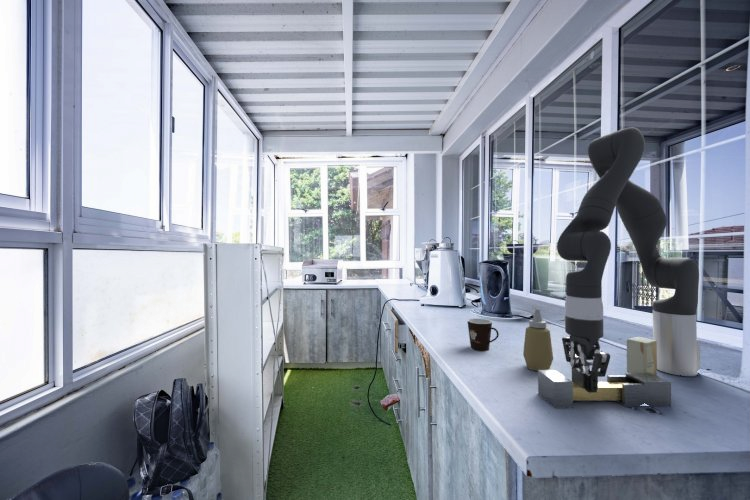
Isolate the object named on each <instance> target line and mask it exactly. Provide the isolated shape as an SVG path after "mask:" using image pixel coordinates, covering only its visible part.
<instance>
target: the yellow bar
mask: <svg viewBox="0 0 750 500" xmlns="http://www.w3.org/2000/svg"><path fill="white" fill-rule="evenodd" d="M591 369H592V368H590V371H591ZM585 375H586V374H585V368H584V366H583V367H571V381H572V382H573V401H616V400H622V383H635V382H607V381H599V377H598V378H597V388H598V389H597V392H595V393H589V392H587V391H586V390H585Z"/></svg>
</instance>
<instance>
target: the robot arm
mask: <svg viewBox="0 0 750 500" xmlns="http://www.w3.org/2000/svg"><path fill="white" fill-rule="evenodd" d="M645 147H646V141H645V137H644V135H643V133H642V132H641V130H640V129H639V128H638V127H632V126H630V127H626V128H622V129H619V130H616V131H613V132H610V133H609V134H608V133H607V134H605V135H602V136H599V137H596V138H594V139H593V140H591V141H590V143H589V144H588V147H587V155H588V159H589V161H590V164H591V166H592V168H593V169H594V170H595V173H596V174H597V176H598V178H599V179H598V180H596V182H595V183H594V184H593V185H591V186H590V187H589V189H588V190H587V192H586V193H585V194H584V196H583V198H582V200H581V202H580V204H579V208H578V210H577V213H576V215H575V216H574V218H573V219H571V221H570V223H568V224H567V226H566V227H565V228H564V229H563V231H562V233H560V236H559V238H558V240H557V244H556V250H557V253H558V255H559V257H560V258H562V259H563V260H566V261H571V262H575V261H576V262H579V261H580V262H583V261H584V262H586V263H585V266H584V268H583V269H580V270H572V271H570V272H568V273H567V274H566V276H565V301H564V321H565V322H564V324H565V325H564V327H565V328H564V329H565V330H564V331H565V333H566V334H567V335H569V336H568V337H567V336H566V337H562V338H561V341H562V346H563V351H564V356H565V361H566V362H567V363H569V365H570V367H571V368H572V367H584V368H585V374H586V375H585V390H586V391H587V392H589V393H595V392H597V389H598V388H597V378H598V379H599V377H601V378H603V377H604V378H605V377H606V375H607V372H608V371H607V370H608V366H609V364H610V363H609V362H610V360H611V355H610V353H609V352H604V351H603V350H602V349H601V345H600V342H599V340H600V339H602V338H603V337H604V304H603V296H602V295H603V294H602V292H603V290H602V287H603V286H602V281H603V275H604V272H605V268H606V265H607V262H608V260H609V257H610V253H611V249H612V242H611V240H610V238H609V236H608V234H606V232H604V231H603V230H605V229H606V228H607V227H608V226H609V225H610V223H611V219H612V217H613V214H614V211H615V208H616V210H617V212H618V215H619V217H620V220H621V222H622V224H623V226H624V228H625V231H626V232H627V234H628V235H629V238H630V240H631V242H632V244H633V247H634V249H635V252H636V254H637V257H638V260H639V263H640V266H641V270H642V272H643V275H644V277H645V279H646V281H647V283H648V284H649V285H650V286H652V287H654V288H659V289H667V290H669V289H670V290H674V294H673V295H672V296H670V297H668V298H664V299H655V300H654V301H653V302H652V339H653V340H657V371H661V372H662V373H666V374H671V375H674V376H680V375H681V376H682V377H696V376H697V375H698V374H697V371H698V370H699V369H701V366H702V365H701V362H702V361H701V341H700V340H699V339H697V334H698V333H697V308H698V304H699V283H700V270H699V265H698V263H697V262H696V261H695V260H694V259H693V258H689V257H688V258H687V257H686V258H685V257H662V256H661V255H660V252H659V249H658V243H659V241H660V239H661V237H662V235H663V233H664V231H665V229H666V226H667V222H668V218H667V216H666V212H665V210H664V208H663V206H662V204H661V201H660V200H659V198H658V197H657V196H656V195H655V194H654V193H652V192H650V191H648V190H647V189H646V188H644V187H641V185H638V184H636V183H635V182H633V181H632V180H630V178H631V177H632V175H633V174H634V171H635V170H636V168H637V166H638V165H639V163H640V161H641V160H642V158H643V156H644V154H645V153H644V152H645ZM590 367H591V368H590ZM590 369H591V371H590Z"/></svg>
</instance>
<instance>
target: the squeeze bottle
mask: <svg viewBox="0 0 750 500" xmlns="http://www.w3.org/2000/svg"><path fill="white" fill-rule="evenodd" d="M523 343H524V345H523V354H522V355H523V358H524V361H525V364H526V366H527V368H528V369H529V370H532V371H536V372H538V370H551V366H552V363H553V362H554V354H553V353H554V351H553V345H552V337H551V330H550V329H549V328H547V321H545V320H543V318H542V313H541V310H540V308H535V309H534V313H533V317H532V319H529V320H528V327H526V328H525V334H524V342H523Z"/></svg>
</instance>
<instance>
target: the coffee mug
mask: <svg viewBox="0 0 750 500" xmlns="http://www.w3.org/2000/svg"><path fill="white" fill-rule="evenodd" d="M466 320H467V328H468V336H469V343H470V344H469V345H470V349H471V350H474V351H478V352H487V351H489V350H490V346H491V345H490V344H491V343H493V342H495V341H496V340H497V339H498V338H499V335H500V333H499V330H498V329H497V328H496V327H492V326H493V325H492V324H493V320H490V319H486V318H470V319H466ZM492 330H493V331H494V332H495V333H496V336H495V337H494V338H493V339H491V337H492V336H491V335H492Z"/></svg>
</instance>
